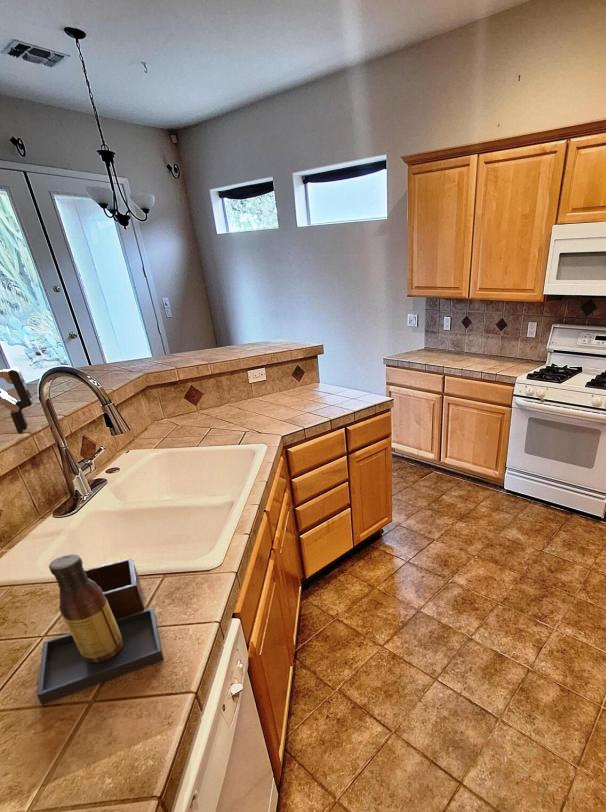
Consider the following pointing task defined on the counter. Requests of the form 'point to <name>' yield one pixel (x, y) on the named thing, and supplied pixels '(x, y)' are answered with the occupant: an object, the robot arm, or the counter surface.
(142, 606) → the caddy
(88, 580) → the sauce bottle
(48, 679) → the tray
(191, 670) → the counter surface
